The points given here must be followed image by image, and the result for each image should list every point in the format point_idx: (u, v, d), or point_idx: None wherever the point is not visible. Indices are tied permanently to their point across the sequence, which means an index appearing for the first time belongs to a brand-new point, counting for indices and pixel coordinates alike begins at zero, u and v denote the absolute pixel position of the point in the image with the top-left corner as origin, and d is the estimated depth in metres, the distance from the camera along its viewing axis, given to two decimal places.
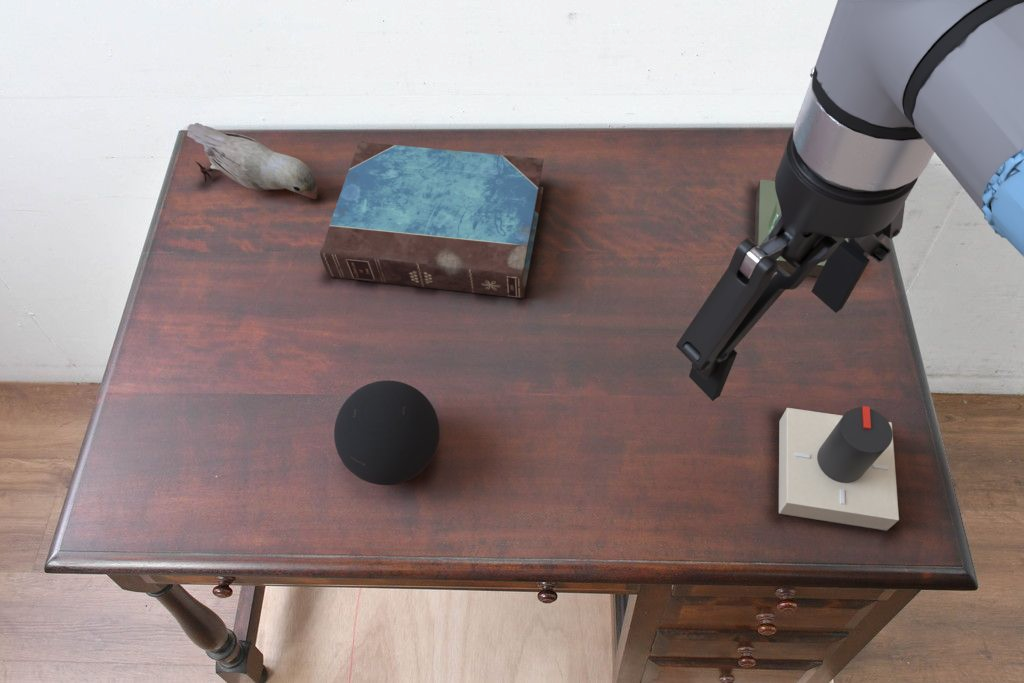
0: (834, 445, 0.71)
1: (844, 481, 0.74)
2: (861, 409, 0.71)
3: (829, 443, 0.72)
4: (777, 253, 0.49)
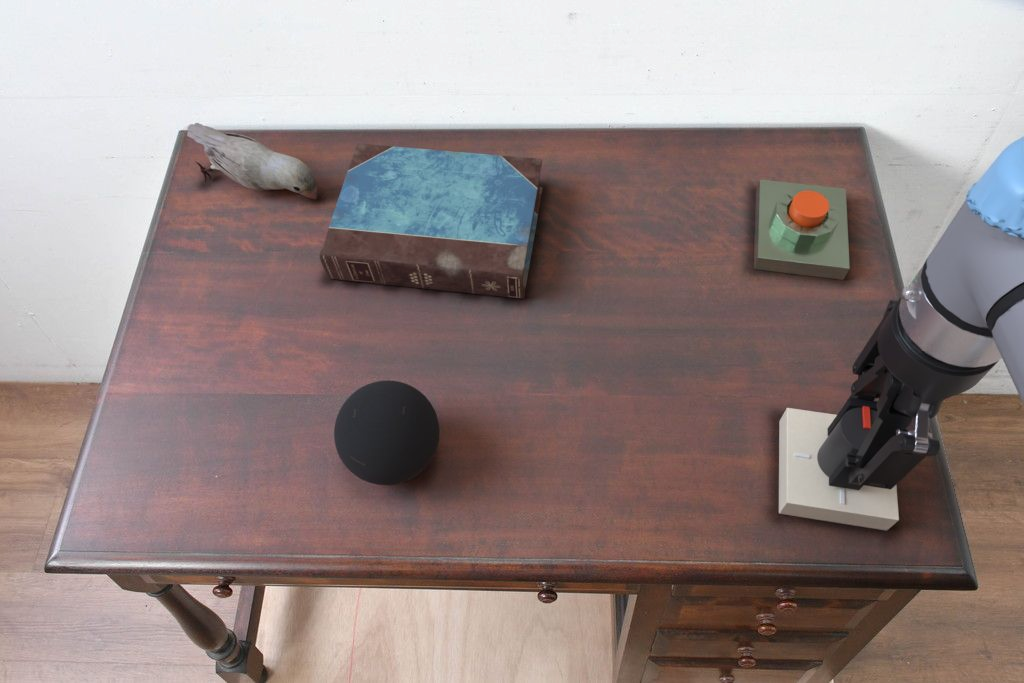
0: (834, 445, 0.71)
1: None
2: (861, 409, 0.71)
3: (829, 443, 0.72)
4: None
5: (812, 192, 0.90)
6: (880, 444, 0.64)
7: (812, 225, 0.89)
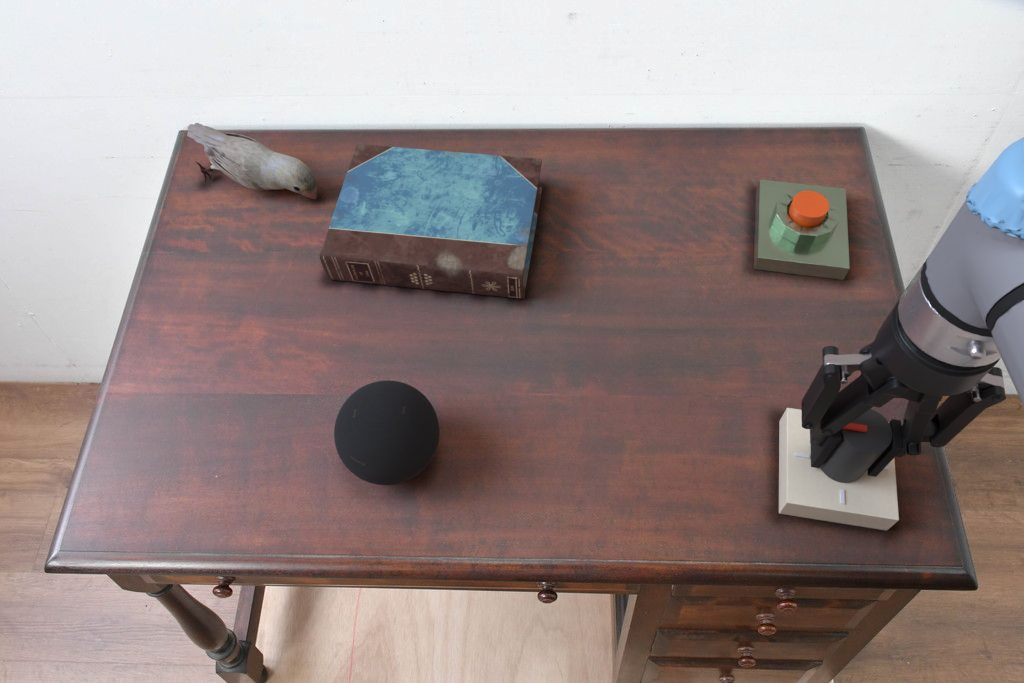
0: (868, 462, 0.70)
1: None
2: (843, 429, 0.70)
3: (857, 467, 0.71)
4: None
5: (812, 192, 0.90)
6: None
7: (812, 225, 0.89)
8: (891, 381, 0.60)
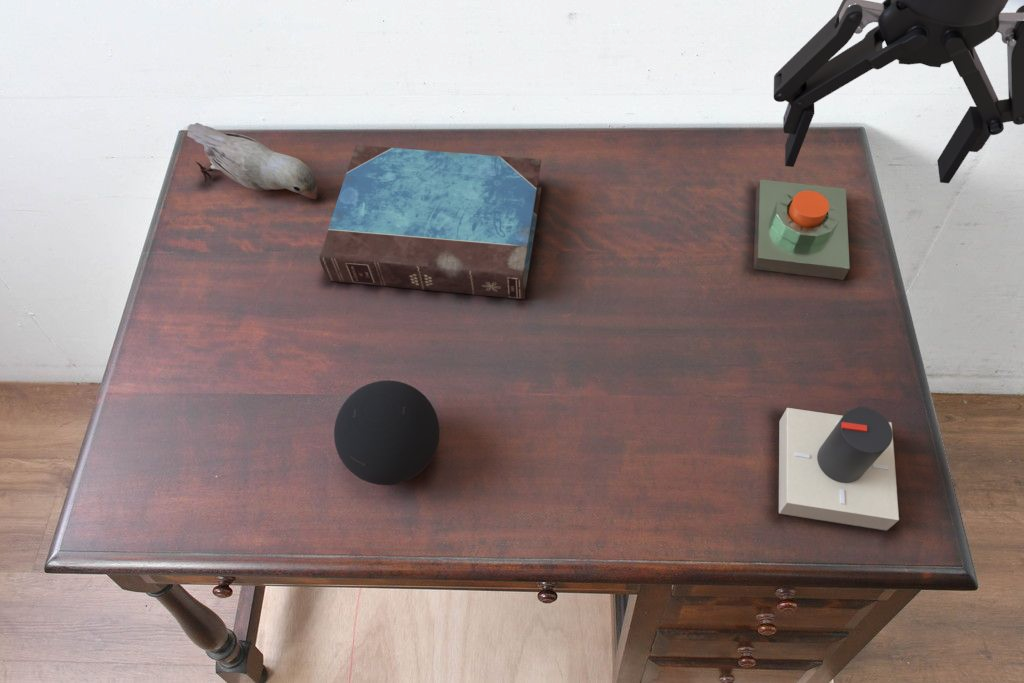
0: (868, 462, 0.70)
1: None
2: (843, 429, 0.70)
3: (857, 467, 0.71)
4: None
5: (812, 192, 0.90)
6: (988, 87, 0.63)
7: (812, 225, 0.89)
8: (910, 33, 0.60)
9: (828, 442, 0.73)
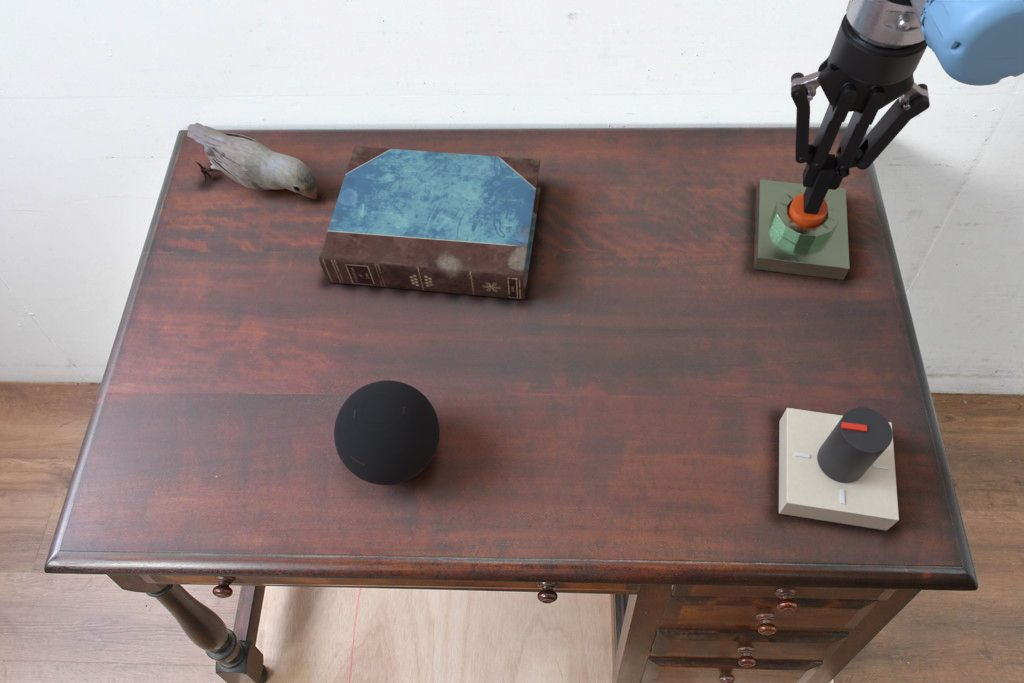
0: (868, 462, 0.70)
1: None
2: (843, 429, 0.70)
3: (857, 467, 0.71)
4: None
5: None
6: None
7: (811, 227, 0.90)
8: (844, 88, 0.74)
9: (828, 442, 0.73)
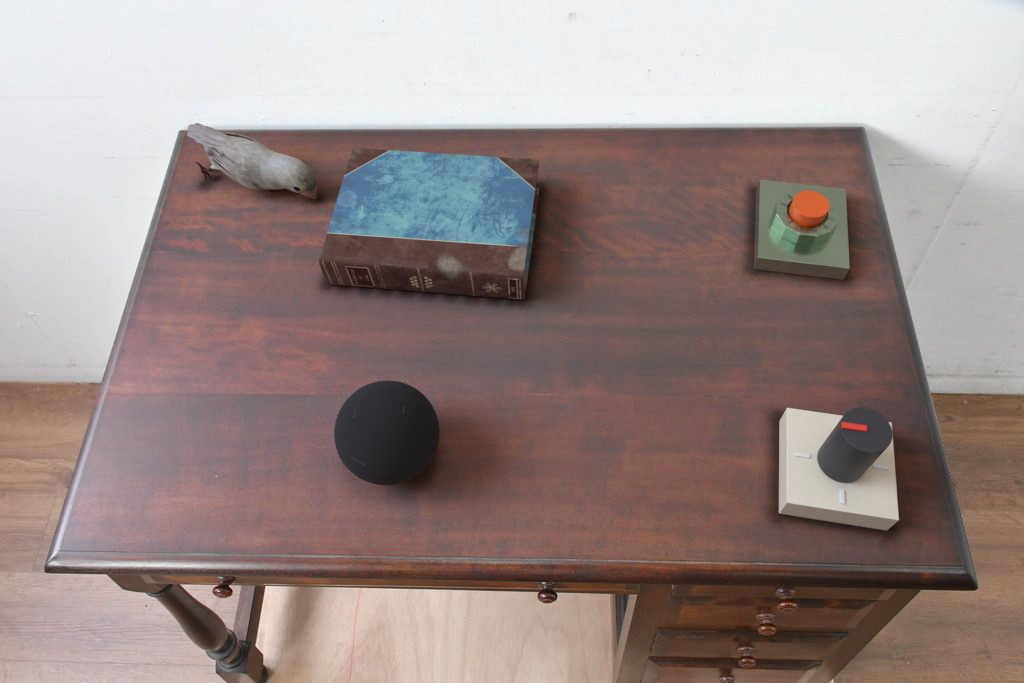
0: (868, 462, 0.70)
1: None
2: (843, 429, 0.70)
3: (857, 467, 0.71)
4: None
5: (812, 192, 0.90)
6: None
7: (812, 225, 0.89)
8: None
9: (828, 442, 0.73)
